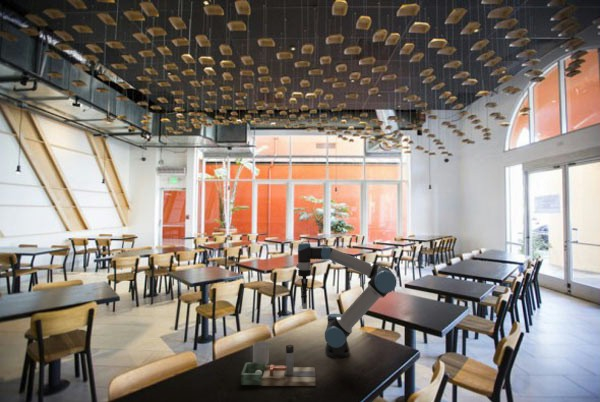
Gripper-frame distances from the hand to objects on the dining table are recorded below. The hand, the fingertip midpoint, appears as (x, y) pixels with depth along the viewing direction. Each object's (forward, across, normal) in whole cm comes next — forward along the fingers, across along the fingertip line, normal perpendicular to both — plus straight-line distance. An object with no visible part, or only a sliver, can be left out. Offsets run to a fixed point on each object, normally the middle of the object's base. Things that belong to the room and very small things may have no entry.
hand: (304, 305), depth 172 cm
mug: (+32, +3, -26) cm, 41 cm away
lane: (+32, +19, -14) cm, 39 cm away
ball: (+30, +19, -25) cm, 43 cm away
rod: (+29, +19, -12) cm, 37 cm away
